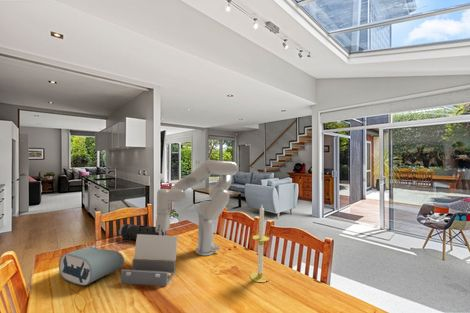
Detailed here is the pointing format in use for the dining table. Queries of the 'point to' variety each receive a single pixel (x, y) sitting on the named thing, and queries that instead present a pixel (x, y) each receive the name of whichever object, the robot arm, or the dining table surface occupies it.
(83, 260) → the pencil case
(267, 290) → the dining table surface
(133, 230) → the muzzle brake
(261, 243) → the candle
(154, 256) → the plate
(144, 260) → the cable duct
